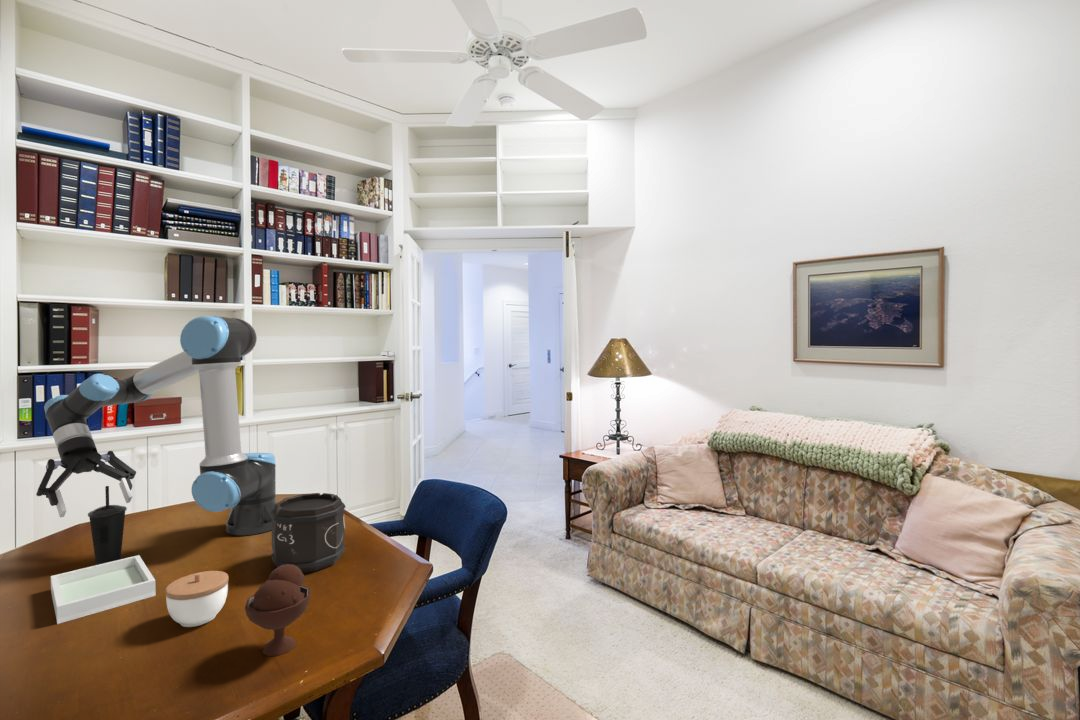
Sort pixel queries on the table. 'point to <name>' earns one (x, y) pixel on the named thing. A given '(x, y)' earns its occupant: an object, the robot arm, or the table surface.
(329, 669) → the table surface
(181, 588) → the lidded jar
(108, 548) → the drinking cup
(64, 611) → the tray
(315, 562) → the labeled octagonal canister
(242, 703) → the table surface
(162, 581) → the table surface
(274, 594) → the ice cream bowl
